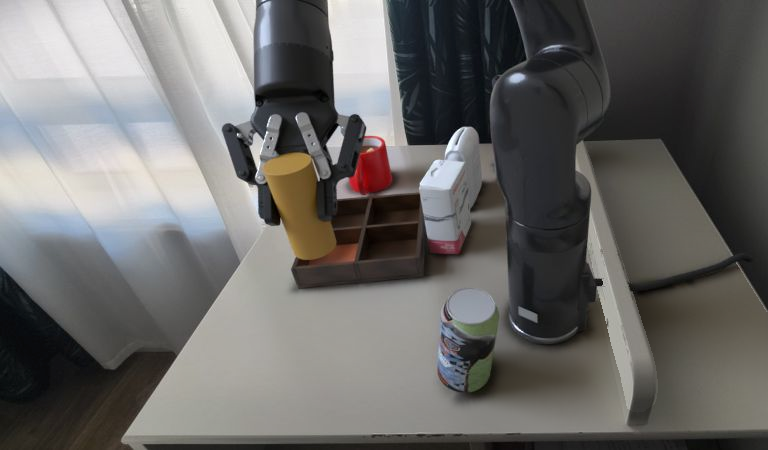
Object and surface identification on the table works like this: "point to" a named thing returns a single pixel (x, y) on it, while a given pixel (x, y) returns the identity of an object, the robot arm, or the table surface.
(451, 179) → the ink box
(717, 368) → the table surface
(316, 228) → the yellow cylinder
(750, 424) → the table surface
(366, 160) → the mug
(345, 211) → the grid
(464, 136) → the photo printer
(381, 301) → the table surface
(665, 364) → the table surface
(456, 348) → the beverage can
